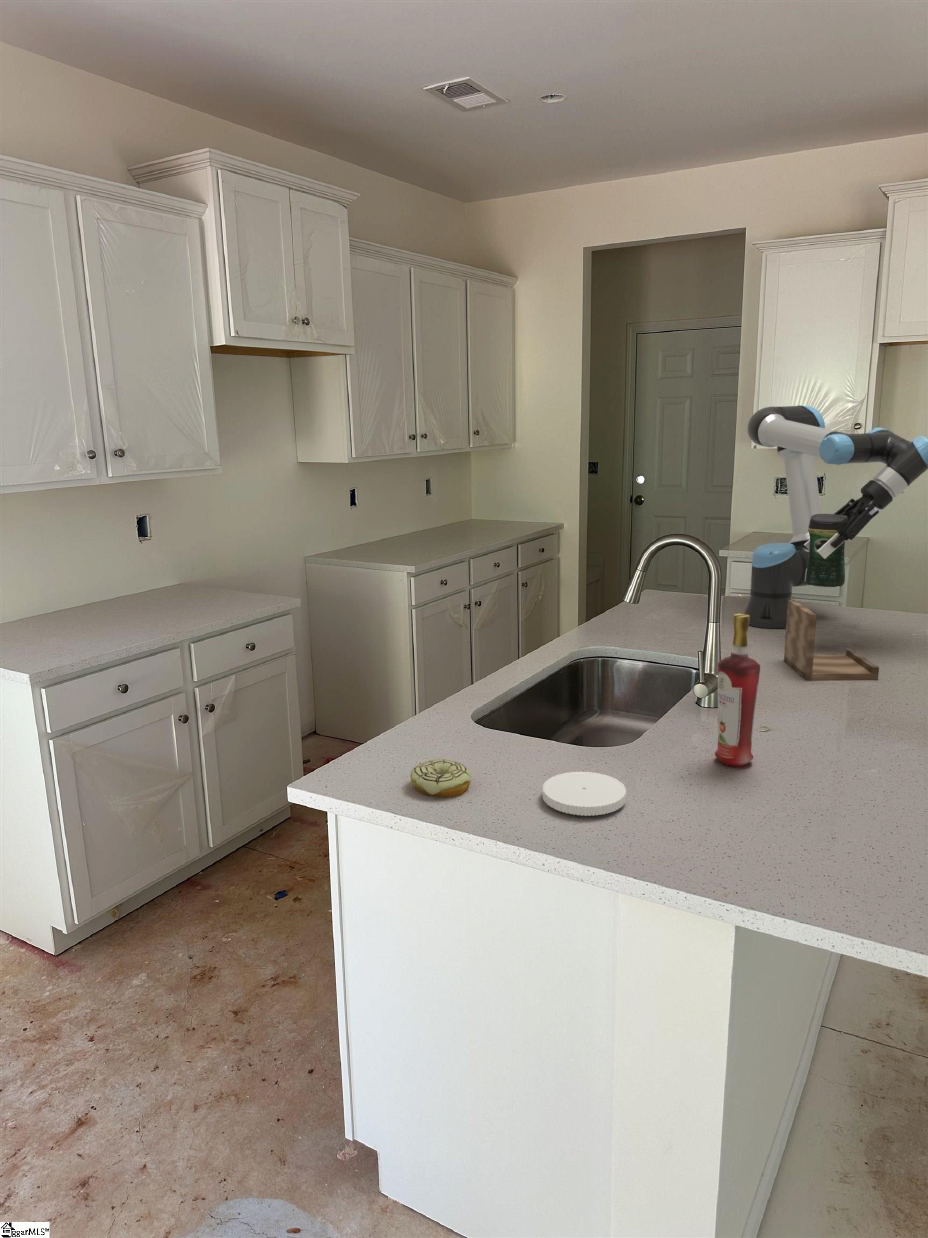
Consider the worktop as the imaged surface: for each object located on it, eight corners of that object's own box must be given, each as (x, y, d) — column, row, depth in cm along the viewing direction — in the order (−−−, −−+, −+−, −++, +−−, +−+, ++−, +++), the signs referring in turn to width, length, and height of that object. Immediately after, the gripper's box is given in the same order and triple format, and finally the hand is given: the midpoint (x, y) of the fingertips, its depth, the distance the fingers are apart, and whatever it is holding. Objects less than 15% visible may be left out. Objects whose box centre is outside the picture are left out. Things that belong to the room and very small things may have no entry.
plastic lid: (628, 788, 153) (628, 774, 153) (623, 825, 140) (623, 810, 140) (548, 782, 157) (548, 769, 156) (536, 817, 143) (536, 803, 143)
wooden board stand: (783, 661, 224) (788, 599, 220) (851, 660, 223) (856, 599, 219) (805, 680, 208) (810, 614, 204) (877, 679, 208) (884, 614, 204)
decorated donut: (432, 806, 148) (431, 786, 147) (400, 785, 156) (399, 765, 155) (482, 790, 154) (482, 770, 153) (448, 770, 162) (447, 751, 161)
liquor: (704, 758, 164) (711, 613, 158) (736, 751, 167) (744, 609, 160) (730, 772, 158) (739, 622, 151) (762, 765, 161) (772, 617, 154)
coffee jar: (846, 583, 230) (853, 513, 225) (840, 589, 223) (846, 517, 219) (808, 580, 235) (813, 511, 230) (800, 585, 229) (806, 514, 224)
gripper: (912, 504, 213) (839, 569, 217) (874, 494, 234) (809, 554, 238) (892, 482, 211) (819, 548, 216) (856, 474, 232) (790, 534, 237)
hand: (814, 551), depth 227 cm, fingers closed on coffee jar, 9 cm apart
